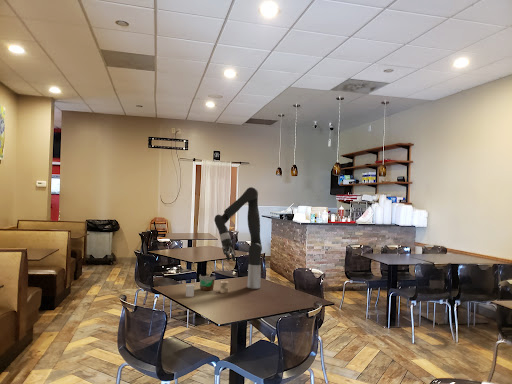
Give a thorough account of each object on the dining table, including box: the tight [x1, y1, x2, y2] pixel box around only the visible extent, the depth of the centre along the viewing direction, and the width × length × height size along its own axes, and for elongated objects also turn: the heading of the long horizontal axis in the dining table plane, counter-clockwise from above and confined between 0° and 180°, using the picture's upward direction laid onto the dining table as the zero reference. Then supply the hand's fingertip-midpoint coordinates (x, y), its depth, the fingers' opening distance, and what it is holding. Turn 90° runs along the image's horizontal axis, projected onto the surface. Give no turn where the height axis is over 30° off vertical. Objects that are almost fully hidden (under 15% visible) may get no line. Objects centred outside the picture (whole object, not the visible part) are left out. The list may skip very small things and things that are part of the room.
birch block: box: [219, 280, 229, 294], centre depth 250 cm, size 5×5×7 cm
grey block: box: [185, 283, 195, 298], centre depth 235 cm, size 5×5×7 cm
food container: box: [198, 274, 216, 292], centre depth 252 cm, size 12×6×10 cm, turn 73°
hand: (231, 260), depth 262 cm, fingers open, 8 cm apart
